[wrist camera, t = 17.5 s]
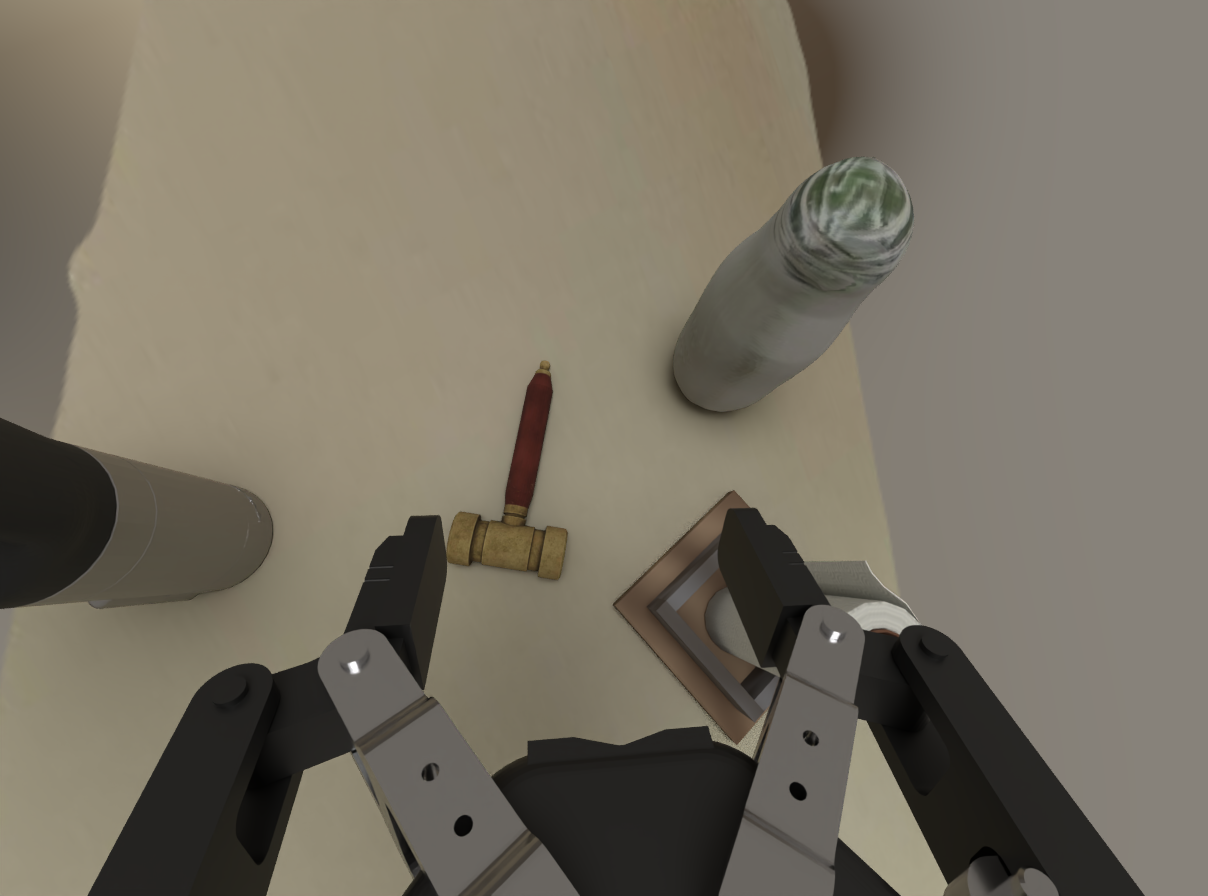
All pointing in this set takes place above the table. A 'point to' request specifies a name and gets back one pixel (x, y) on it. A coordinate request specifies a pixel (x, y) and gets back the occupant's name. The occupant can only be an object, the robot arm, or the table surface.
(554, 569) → the gavel
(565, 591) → the table surface
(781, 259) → the glass bottle
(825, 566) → the paper towel roll
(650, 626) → the socket board
